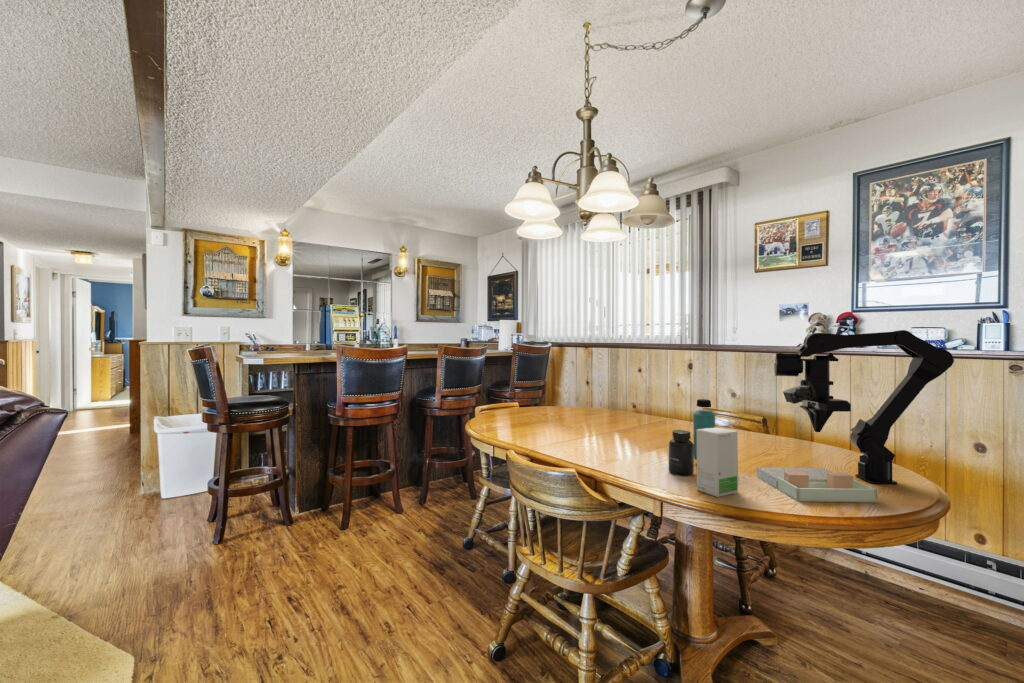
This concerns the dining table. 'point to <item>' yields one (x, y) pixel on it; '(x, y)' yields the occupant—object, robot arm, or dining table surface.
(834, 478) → the tile
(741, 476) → the dining table surface
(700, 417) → the beverage bottle
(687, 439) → the supplement bottle
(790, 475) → the tile
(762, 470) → the plate
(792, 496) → the tray
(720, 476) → the skincare box
